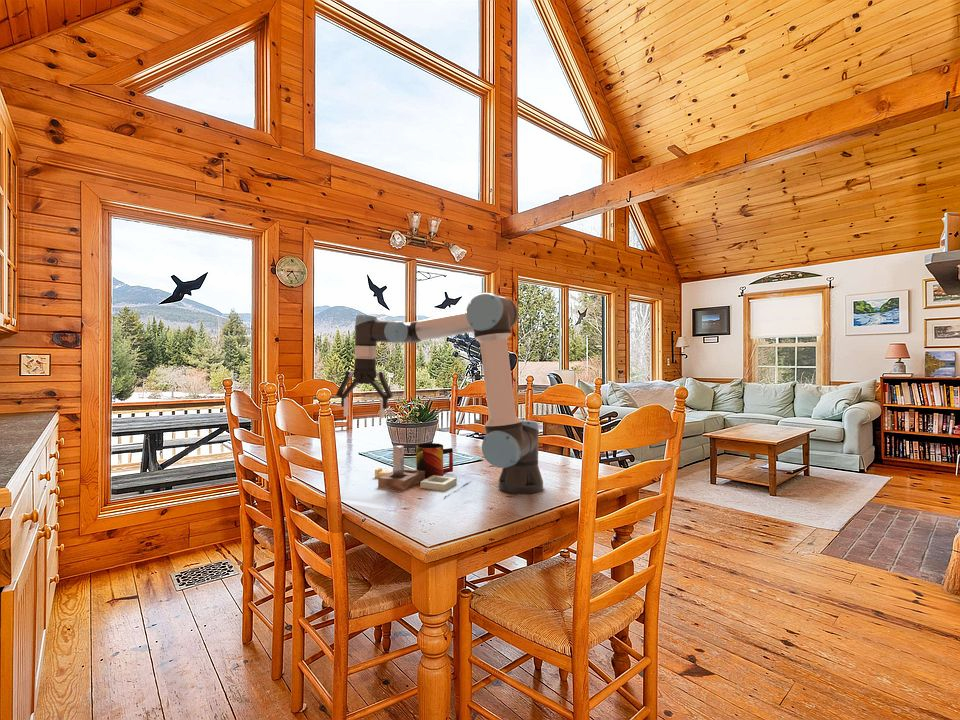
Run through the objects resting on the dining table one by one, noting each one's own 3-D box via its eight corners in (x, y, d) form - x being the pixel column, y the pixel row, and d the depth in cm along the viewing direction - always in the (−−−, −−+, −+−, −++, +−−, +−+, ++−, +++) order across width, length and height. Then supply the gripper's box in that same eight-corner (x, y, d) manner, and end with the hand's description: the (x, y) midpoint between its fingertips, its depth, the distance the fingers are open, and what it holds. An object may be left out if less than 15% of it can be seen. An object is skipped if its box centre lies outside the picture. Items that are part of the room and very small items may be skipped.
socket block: (425, 482, 171) (425, 470, 171) (404, 493, 158) (404, 480, 158) (400, 479, 175) (400, 468, 175) (378, 489, 162) (378, 477, 162)
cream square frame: (456, 486, 166) (456, 477, 166) (444, 493, 157) (444, 484, 157) (433, 483, 169) (433, 475, 169) (420, 490, 161) (420, 481, 161)
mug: (453, 474, 182) (453, 442, 182) (434, 483, 170) (434, 449, 169) (431, 471, 186) (431, 440, 186) (411, 480, 174) (411, 446, 174)
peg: (405, 484, 165) (405, 445, 165) (400, 486, 162) (400, 447, 161) (396, 482, 166) (396, 445, 166) (390, 485, 163) (390, 447, 163)
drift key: (403, 480, 173) (403, 470, 172) (398, 482, 170) (398, 472, 170) (379, 477, 176) (379, 468, 176) (374, 479, 174) (374, 469, 174)
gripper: (402, 358, 177) (400, 416, 178) (336, 356, 180) (335, 413, 180) (396, 359, 170) (394, 419, 170) (327, 357, 172) (326, 416, 173)
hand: (364, 416), depth 175 cm, fingers open, 13 cm apart
